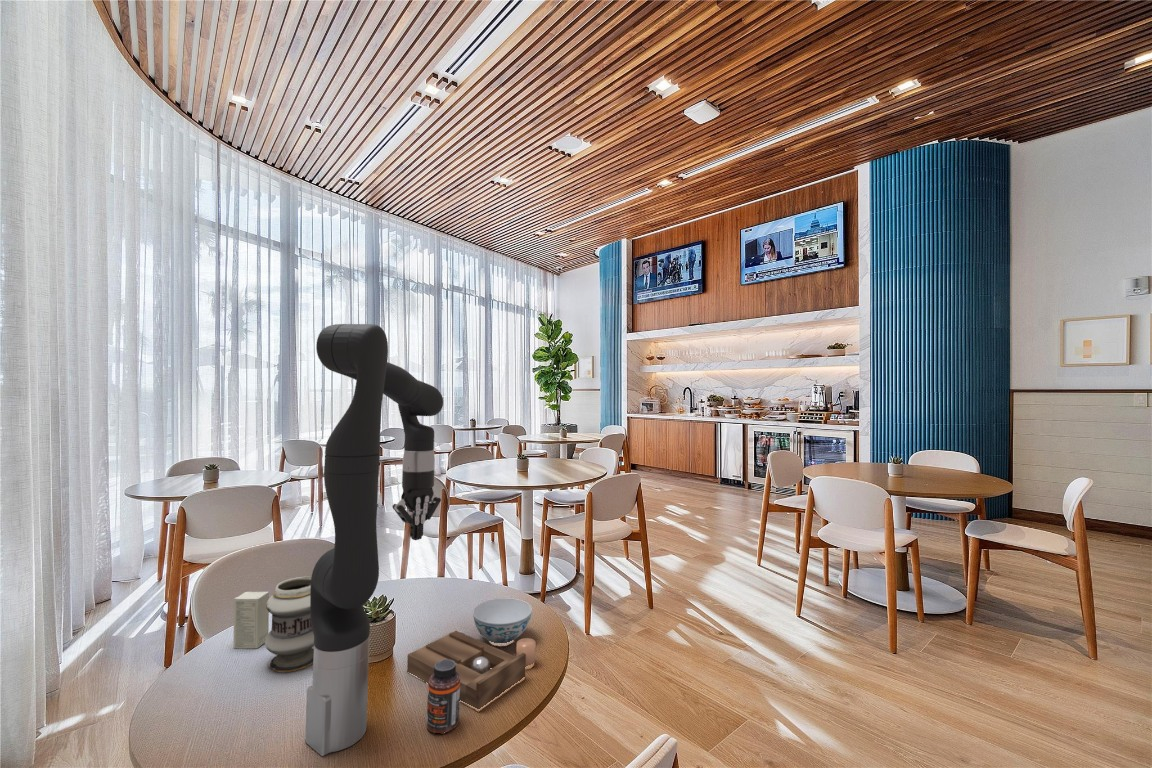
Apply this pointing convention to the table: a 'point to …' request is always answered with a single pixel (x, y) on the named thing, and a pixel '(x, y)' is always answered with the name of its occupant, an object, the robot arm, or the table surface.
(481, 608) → the chinaware
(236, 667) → the table surface
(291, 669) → the apothecary jar
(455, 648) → the wooden box
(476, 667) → the steel ball
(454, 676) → the supplement bottle
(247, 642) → the skincare box
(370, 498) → the robot arm
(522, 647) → the beige rounded cylinder
